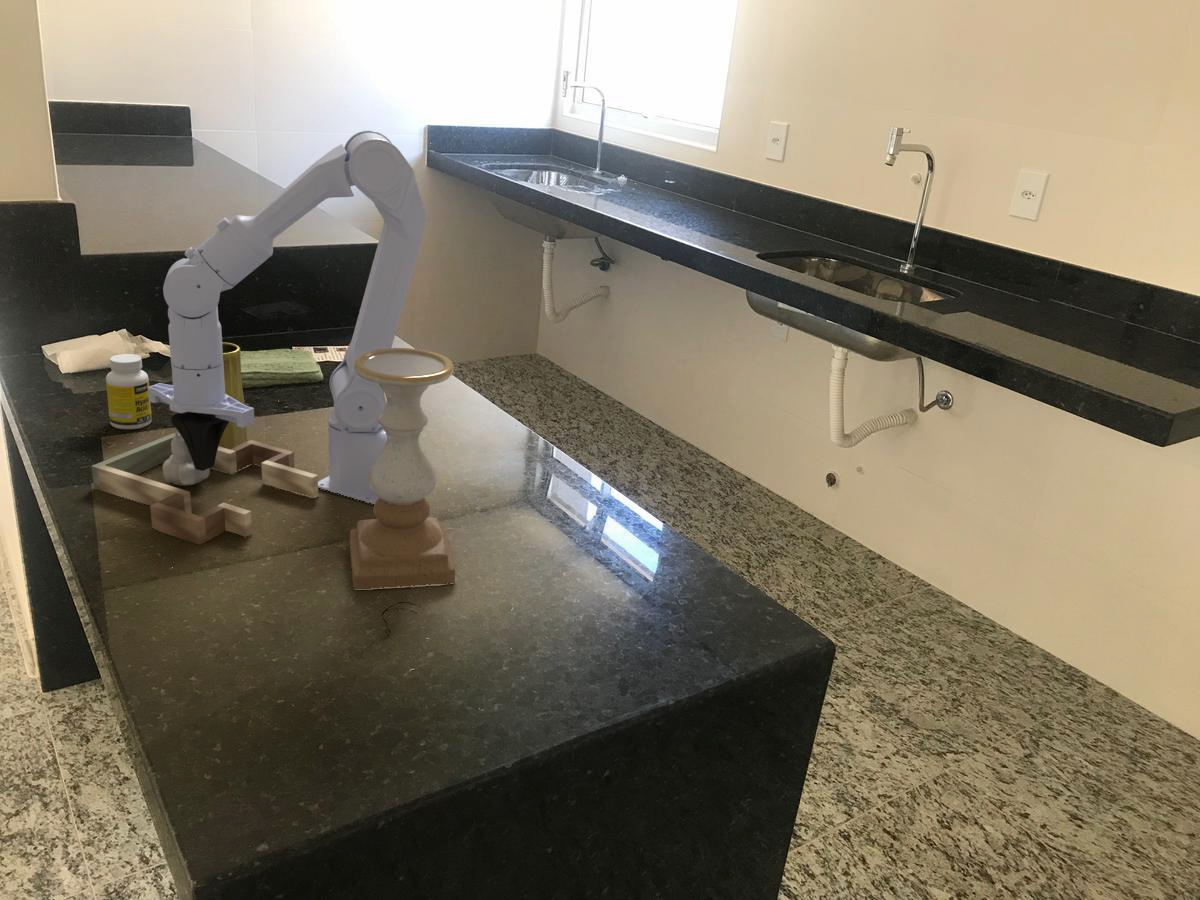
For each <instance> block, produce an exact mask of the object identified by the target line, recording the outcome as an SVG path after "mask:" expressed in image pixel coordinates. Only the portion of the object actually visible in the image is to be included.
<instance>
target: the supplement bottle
mask: <svg viewBox="0 0 1200 900" xmlns="http://www.w3.org/2000/svg"><path fill="white" fill-rule="evenodd" d="M142 360H143V359H142V357H141V356H140V355H137V354H134V353H133V354H132V353H122V354H116V355H113V356H111V357H110V358H109V364H110V370H111V371H110V372H108V373H107V375H106V377H105V383H106V386H105V387H106V396H107V405H108V416H109V423H110V425H111V426H112V427H113V428H116V429H119V430H137V429H142V428H145V427H148V426H149V425H150V424H151V423H152V420H153V419H152V408H151V407H152V406H151V404H152V403H151V402H149V397H148V387H149V386H150V381H149V380H150V379H149V376H148V374H147V372H145V370H142V368H143V361H142Z"/></svg>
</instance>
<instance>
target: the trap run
mask: <svg viewBox="0 0 1200 900" xmlns="http://www.w3.org/2000/svg"><path fill="white" fill-rule="evenodd" d="M175 434H176V432H175V433H174V432H173V433H171V434H167V435H166V436H163V437H160V438H158V439H156V440H153V441H150V442H148V443H145V444H143V445H140V446H138V447H136V448H133V449H130V450H127V451H125V452H123V453H120V454H118V455H115V456H112V457H110V458H107V459H106V460H102V461H101V462H98V463H95V464H92V465H91V474H92V481H93V482H92V483H93V489H96V490H98V491H102V492H104V493H107V494H111V495H115V496H117V497H120V498H123V497H124V498H123V499H126V498H127V499H126V500H129V499H130V501H132V500H134V501H133V502H135V501H137V502H136V503H138V502H141V503H145V504H147V505H151V506H149V507H150V508H149V510H150V518H151V519H150V520H151V527H152V528H154V529H156V530H155V531H157V530H159V531H158V532H160V531H161V532H160V533H162V534H166V533H167V534H166V535H168V536H172V535H173V536H172V537H175V538H177V537H178V538H177V539H180V540H184V541H186V540H187V542H189V541H190V543H193V544H196V545H198V544H199V546H201V545H202V543H203V544H204V543H206V542H208V541H210V540H212V539H213V538H216V537H218V536H219V535H221V534H223V533H224V532H223V531H225V530H226V531H225V532H227V531H230V532H233V533H236V534H239V535H243V536H248V535H250V534H251V533H252V534H253V525H252V524H253V523H252V521H253V519H252V510H248V509H245V508H242V507H239V506H236V505H232V504H230V503H226V502H221V503H220V504H218V505H216V506H214V507H212V508H211V509H210V508H209V509H208V510H206V511H204V512H203V513H201V514H199V515H198V514H194V513H192V499H191V491H188V490H185V489H182V488H179V487H175V486H172V485H169V484H166V483H163V482H159V481H157V480H153V479H150V478H146V477H144V476H140V475H139V474H141V473H143V471H144V472H145V470H146V471H148V470H150V469H152V467H153V468H155V467H157V466H159V464H160V465H161V463H162V464H164V462H165V461H166V460H167V459H169V458H170V456H171V455H172V451H171V442H172V440H173V438H174V436H175ZM294 455H295V453H294V451H291V450H288V449H284V448H281V447H278V446H274V445H271V444H267V443H263V442H260V441H257V440H254V439H250V440H248V442H245V443H243V444H241V445H239V446H236V447H234V448H232V449H226V448H223V447H219V446H218V450H217V454H216V458H215V463H214V466H213V467H210V468H214V469H217V470H220V471H223V472H222V473H224V472H227V473H231V474H232V473H234V472H235V471H238V470H239V469H242V468H243V467H246V466H247V465H250V464H257V465H260V466H261V467H260V468H261V482H263V483H267V484H270V485H273V486H276V487H279V488H284V489H287V490H289V491H293V492H297V493H300V494H304V495H308V496H311V497H314V496H315V495H317V494H318V495H319V489H318V482H319V475H318V474H316V473H312V472H308V471H305V470H301V469H298V468H295V458H294V457H295V456H294ZM156 465H157V466H156ZM154 466H155V467H154ZM149 468H150V469H149ZM147 469H148V470H147ZM214 469H213V470H214ZM217 470H216V471H217ZM220 471H219V472H220ZM140 472H141V473H140ZM138 473H139V474H138ZM227 473H226V474H227ZM136 474H137V475H136ZM234 474H235V473H234ZM232 475H233V474H232ZM141 503H140V504H141ZM147 505H146V506H147ZM191 513H192V514H191ZM152 528H151V529H152ZM154 529H153V530H154ZM222 532H223V533H222ZM230 532H229V533H230ZM220 533H221V534H220ZM233 533H232V534H233ZM236 534H235V535H236ZM239 535H238V536H239ZM215 536H216V537H215ZM250 536H251V535H250ZM248 537H249V536H248Z"/></svg>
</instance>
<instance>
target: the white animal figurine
mask: <svg viewBox="0 0 1200 900" xmlns="http://www.w3.org/2000/svg"><path fill="white" fill-rule="evenodd" d="M171 451H172V455H171V456H170V458H169V459H167V460H166V461H165V462H164V463H162V466H161V467H162V473H163V474H162V475H163V477H164V479H165V481H167V483H172V484H173V485H176V486H179V487H180V486H182V487H183V486H184V487H187V486H194V485H197V484H199V483H201V482H202V481H203V480H207V478H208V477H210V476H209V475H210V472H211V471H210V470H211V469H210V468H208V469H206V470H204V471H201V470H198V469H196V468H195V466H194V463H193V460H192V458H191V455H190V452H189V450H188V448H187V445H186V443H185V441H184V439H183V438H182V436H181V434H180V433H179V431H177V432H175V436H174V438H173V440H172V442H171Z"/></svg>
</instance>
